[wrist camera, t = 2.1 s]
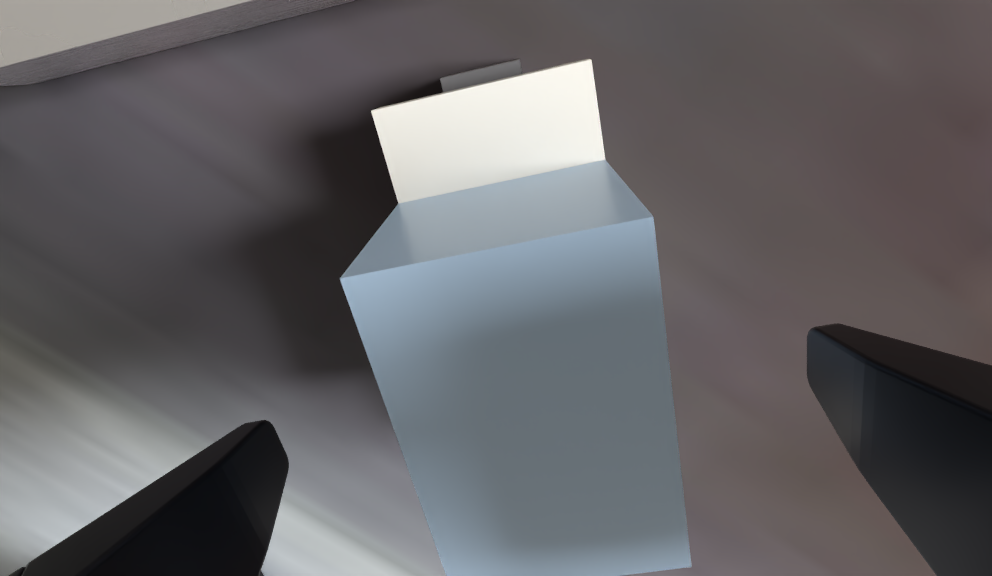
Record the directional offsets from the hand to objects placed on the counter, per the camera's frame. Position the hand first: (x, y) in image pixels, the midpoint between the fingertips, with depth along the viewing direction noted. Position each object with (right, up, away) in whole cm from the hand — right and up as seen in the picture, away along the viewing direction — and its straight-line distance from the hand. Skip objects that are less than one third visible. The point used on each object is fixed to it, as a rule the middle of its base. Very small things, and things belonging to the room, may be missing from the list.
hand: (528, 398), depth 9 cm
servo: (0, +3, +6) cm, 6 cm away
